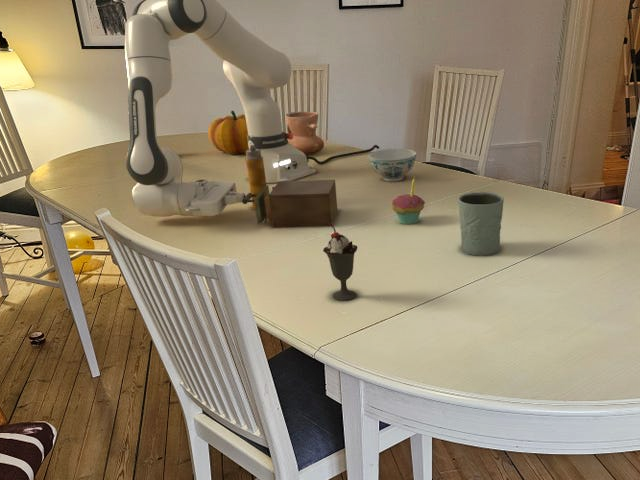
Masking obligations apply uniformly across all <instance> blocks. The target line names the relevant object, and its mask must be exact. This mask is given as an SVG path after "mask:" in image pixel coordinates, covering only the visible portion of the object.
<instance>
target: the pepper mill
mask: <svg viewBox="0 0 640 480" xmlns="http://www.w3.org/2000/svg"><path fill="white" fill-rule="evenodd" d="M245 155H246V157H245V165H246V172H247V178H248V179H247V180H248V185H249V193H251V194H258V193H259V192H260V190H261V189H262V188H263V187H264V186H267V185H268V183H266V177H265V169H264V162H263V157H262V156H261V151H260V149H256V147H255V146H254V145H251V146H250V149H249V150H246V153H245ZM254 198H255V197H251V199H250V200H254ZM251 206H252V209H254V210H256V208H255V202H251Z"/></svg>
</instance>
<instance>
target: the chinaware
mask: <svg viewBox="0 0 640 480" xmlns="http://www.w3.org/2000/svg"><path fill="white" fill-rule="evenodd" d="M368 158H369V162H370V164H371V167H372V169H373V170H374V171H375V172H376V173H377V174H378V175H379V176H380V177H382V180H383V181H385V182H399V181H403V180H404V179H405V176H406V175H407V174H408V173H409V172H410V171H411V170H412V168H413V167H414V165H415V162H416V159H417V151H415V150H413V149H408V148H386V149H377V150H375V151H371V152H369V154H368Z"/></svg>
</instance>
